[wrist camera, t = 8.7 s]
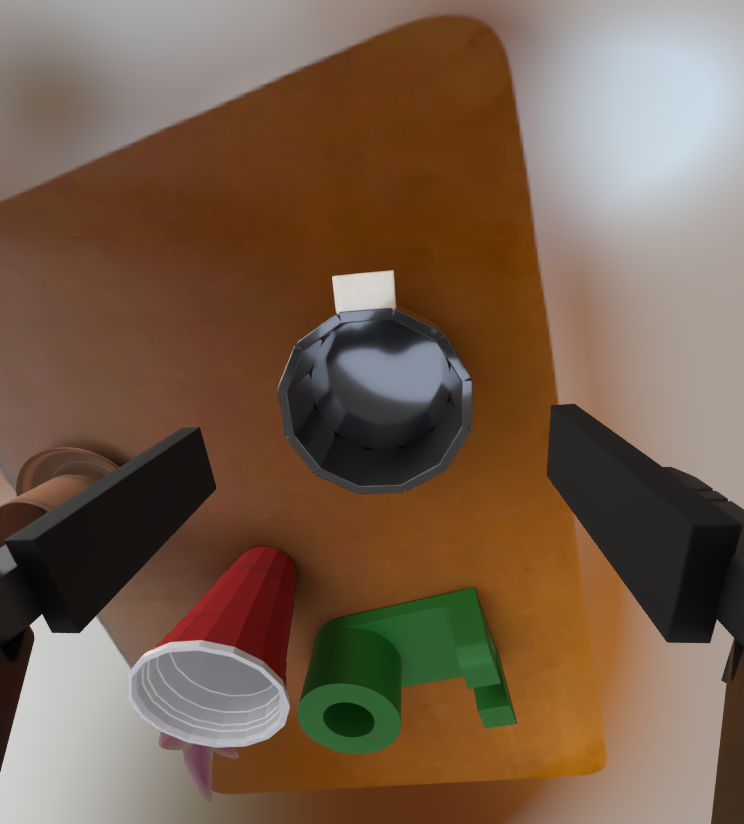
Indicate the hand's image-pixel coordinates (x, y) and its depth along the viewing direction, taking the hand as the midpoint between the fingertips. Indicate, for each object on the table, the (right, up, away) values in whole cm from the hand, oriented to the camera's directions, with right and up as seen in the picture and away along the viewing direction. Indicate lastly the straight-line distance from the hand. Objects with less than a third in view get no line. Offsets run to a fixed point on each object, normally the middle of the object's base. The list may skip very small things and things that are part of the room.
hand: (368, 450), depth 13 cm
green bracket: (+3, -22, +23) cm, 32 cm away
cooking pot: (+1, +4, +13) cm, 13 cm away
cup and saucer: (-25, -7, +20) cm, 33 cm away
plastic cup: (-10, -14, +21) cm, 27 cm away
